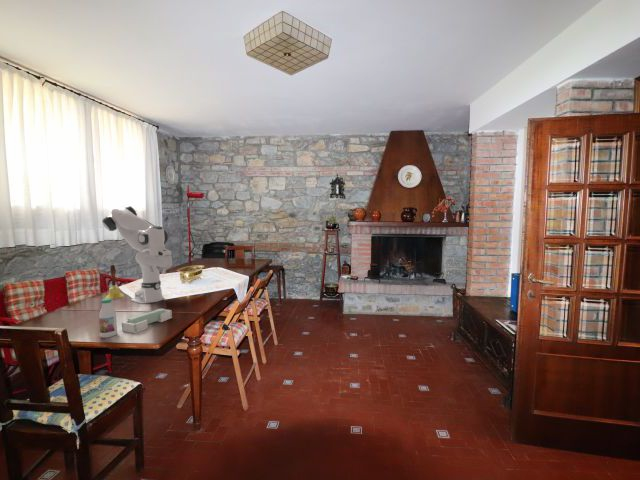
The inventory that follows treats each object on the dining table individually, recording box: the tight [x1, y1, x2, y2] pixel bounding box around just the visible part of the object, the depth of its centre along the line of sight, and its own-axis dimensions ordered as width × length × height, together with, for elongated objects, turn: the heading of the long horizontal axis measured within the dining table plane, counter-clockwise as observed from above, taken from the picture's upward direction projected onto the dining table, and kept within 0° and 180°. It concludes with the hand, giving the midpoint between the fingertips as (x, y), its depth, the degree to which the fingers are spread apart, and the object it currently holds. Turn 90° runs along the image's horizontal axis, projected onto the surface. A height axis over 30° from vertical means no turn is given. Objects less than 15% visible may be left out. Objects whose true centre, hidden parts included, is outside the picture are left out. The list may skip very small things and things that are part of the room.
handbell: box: [104, 264, 125, 300], centre depth 246 cm, size 12×12×25 cm
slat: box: [127, 308, 167, 325], centre depth 189 cm, size 21×4×6 cm, turn 150°
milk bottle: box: [98, 298, 118, 339], centre depth 172 cm, size 8×8×20 cm
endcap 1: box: [121, 319, 149, 334], centre depth 181 cm, size 8×10×5 cm
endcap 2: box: [153, 308, 173, 323], centre depth 198 cm, size 8×10×5 cm
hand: (157, 273), depth 203 cm, fingers open, 8 cm apart
